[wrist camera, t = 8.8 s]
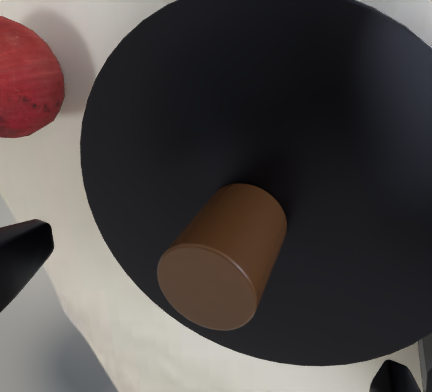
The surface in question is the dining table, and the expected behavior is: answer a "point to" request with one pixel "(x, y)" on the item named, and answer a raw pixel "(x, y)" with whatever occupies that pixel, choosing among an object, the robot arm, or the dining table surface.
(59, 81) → the onion
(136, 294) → the dining table surface
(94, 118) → the lid
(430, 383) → the black bowl
